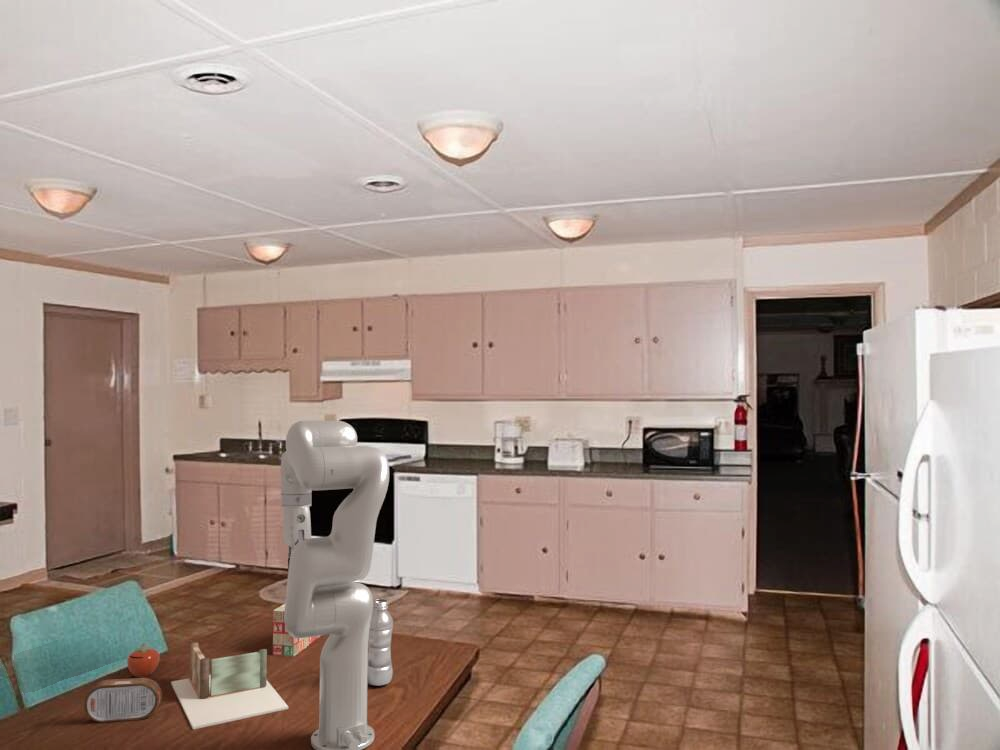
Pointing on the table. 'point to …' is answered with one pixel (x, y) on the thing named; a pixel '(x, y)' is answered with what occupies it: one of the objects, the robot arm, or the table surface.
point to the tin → (122, 699)
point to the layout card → (225, 703)
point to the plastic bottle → (380, 645)
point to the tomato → (143, 661)
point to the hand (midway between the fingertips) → (295, 573)
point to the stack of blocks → (286, 637)
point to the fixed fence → (199, 670)
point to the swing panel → (238, 672)
